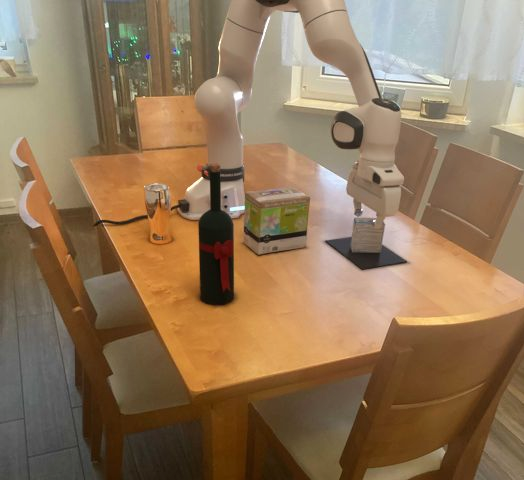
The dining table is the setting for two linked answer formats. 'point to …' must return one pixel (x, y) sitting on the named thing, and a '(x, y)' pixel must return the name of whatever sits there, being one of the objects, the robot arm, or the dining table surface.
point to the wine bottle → (216, 248)
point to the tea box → (275, 219)
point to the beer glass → (158, 212)
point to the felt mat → (365, 255)
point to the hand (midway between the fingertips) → (366, 221)
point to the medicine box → (366, 236)
